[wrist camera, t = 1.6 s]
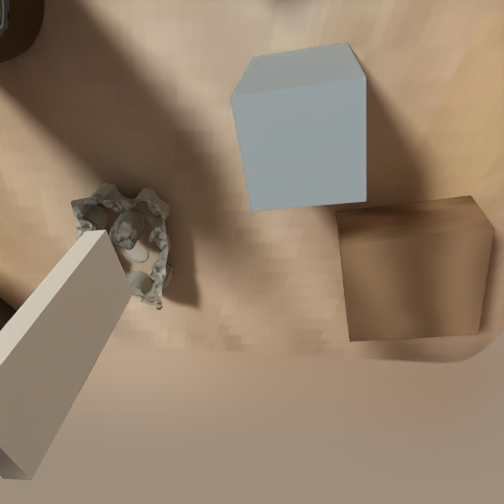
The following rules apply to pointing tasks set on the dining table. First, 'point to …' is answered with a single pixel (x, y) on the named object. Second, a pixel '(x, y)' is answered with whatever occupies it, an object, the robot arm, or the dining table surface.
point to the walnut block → (414, 268)
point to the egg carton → (130, 234)
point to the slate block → (302, 128)
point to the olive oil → (18, 26)
